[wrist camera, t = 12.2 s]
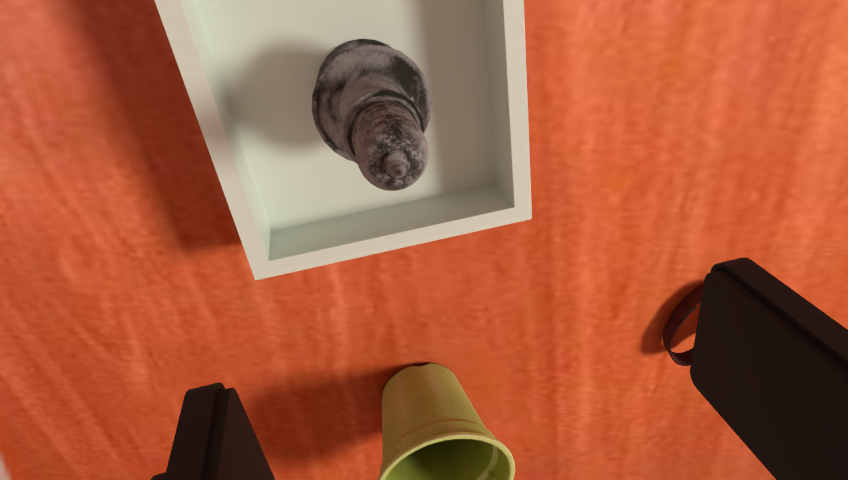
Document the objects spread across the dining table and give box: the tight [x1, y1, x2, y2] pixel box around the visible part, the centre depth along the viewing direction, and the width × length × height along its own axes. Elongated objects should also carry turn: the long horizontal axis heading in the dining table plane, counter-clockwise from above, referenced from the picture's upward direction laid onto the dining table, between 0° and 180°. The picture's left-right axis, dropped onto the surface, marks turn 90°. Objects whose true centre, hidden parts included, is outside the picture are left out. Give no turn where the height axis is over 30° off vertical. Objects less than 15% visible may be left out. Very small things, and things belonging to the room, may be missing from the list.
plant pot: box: [378, 363, 515, 480], centre depth 39 cm, size 9×9×9 cm
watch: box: [663, 284, 704, 366], centre depth 43 cm, size 8×5×4 cm, turn 153°
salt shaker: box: [312, 39, 432, 191], centre depth 24 cm, size 6×6×12 cm
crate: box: [154, 0, 532, 280], centre depth 29 cm, size 16×16×4 cm
